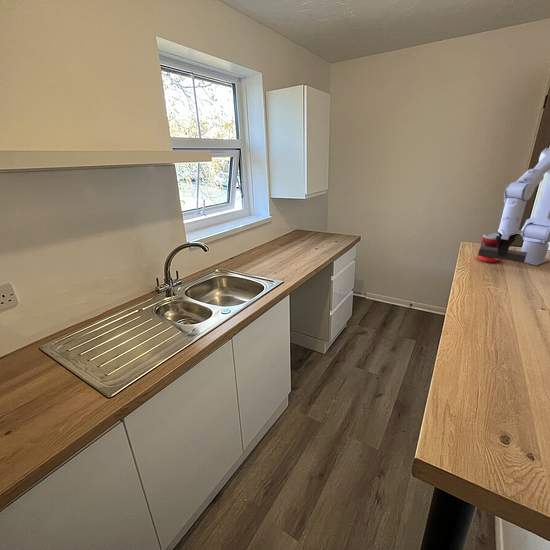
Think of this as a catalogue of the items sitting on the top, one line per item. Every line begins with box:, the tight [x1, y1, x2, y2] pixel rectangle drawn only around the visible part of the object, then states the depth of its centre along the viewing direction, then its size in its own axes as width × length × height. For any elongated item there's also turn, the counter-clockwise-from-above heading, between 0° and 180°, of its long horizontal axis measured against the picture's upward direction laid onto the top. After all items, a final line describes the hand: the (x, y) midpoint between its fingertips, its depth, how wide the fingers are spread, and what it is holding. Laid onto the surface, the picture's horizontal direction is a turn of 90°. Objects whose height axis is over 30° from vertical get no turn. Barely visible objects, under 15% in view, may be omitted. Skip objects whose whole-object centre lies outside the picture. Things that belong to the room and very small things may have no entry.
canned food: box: [477, 232, 501, 264], centre depth 127 cm, size 8×8×11 cm
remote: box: [477, 245, 527, 264], centre depth 112 cm, size 14×5×3 cm, turn 49°
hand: (502, 253), depth 112 cm, fingers closed on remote, 4 cm apart
